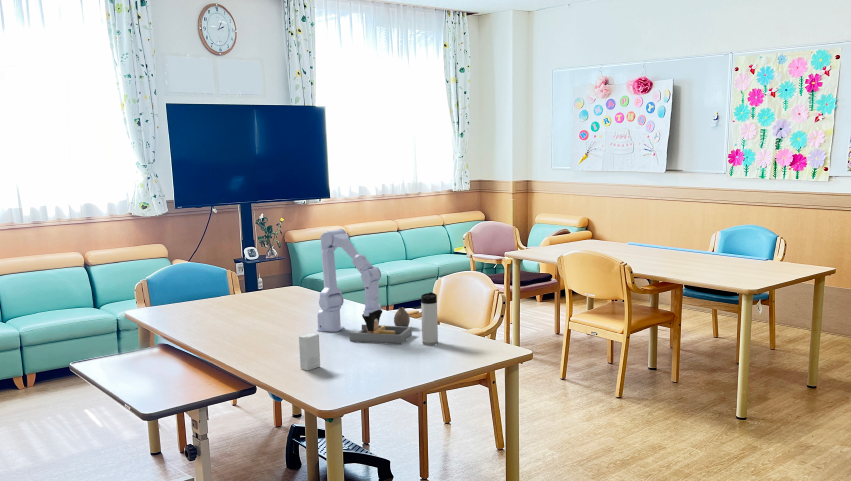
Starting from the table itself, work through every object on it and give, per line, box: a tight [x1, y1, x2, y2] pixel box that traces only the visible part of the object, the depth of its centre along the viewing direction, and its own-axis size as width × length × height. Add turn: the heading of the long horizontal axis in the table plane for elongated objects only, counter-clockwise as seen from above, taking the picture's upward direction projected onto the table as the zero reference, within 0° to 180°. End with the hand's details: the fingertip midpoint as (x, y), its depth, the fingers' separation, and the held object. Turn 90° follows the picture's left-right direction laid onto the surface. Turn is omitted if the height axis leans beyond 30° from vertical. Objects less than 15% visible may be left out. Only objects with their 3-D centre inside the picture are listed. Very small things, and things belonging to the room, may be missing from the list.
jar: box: [367, 318, 380, 333], centre depth 283 cm, size 5×5×6 cm
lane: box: [349, 324, 413, 345], centre depth 282 cm, size 22×14×4 cm, turn 73°
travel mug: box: [420, 291, 439, 346], centre depth 272 cm, size 6×7×20 cm
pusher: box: [374, 324, 395, 334], centre depth 281 cm, size 7×11×3 cm, turn 163°
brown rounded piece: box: [393, 307, 411, 327], centre depth 298 cm, size 7×7×9 cm
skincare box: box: [298, 332, 321, 371], centre depth 244 cm, size 6×4×12 cm
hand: (372, 329), depth 283 cm, fingers closed on jar, 5 cm apart
